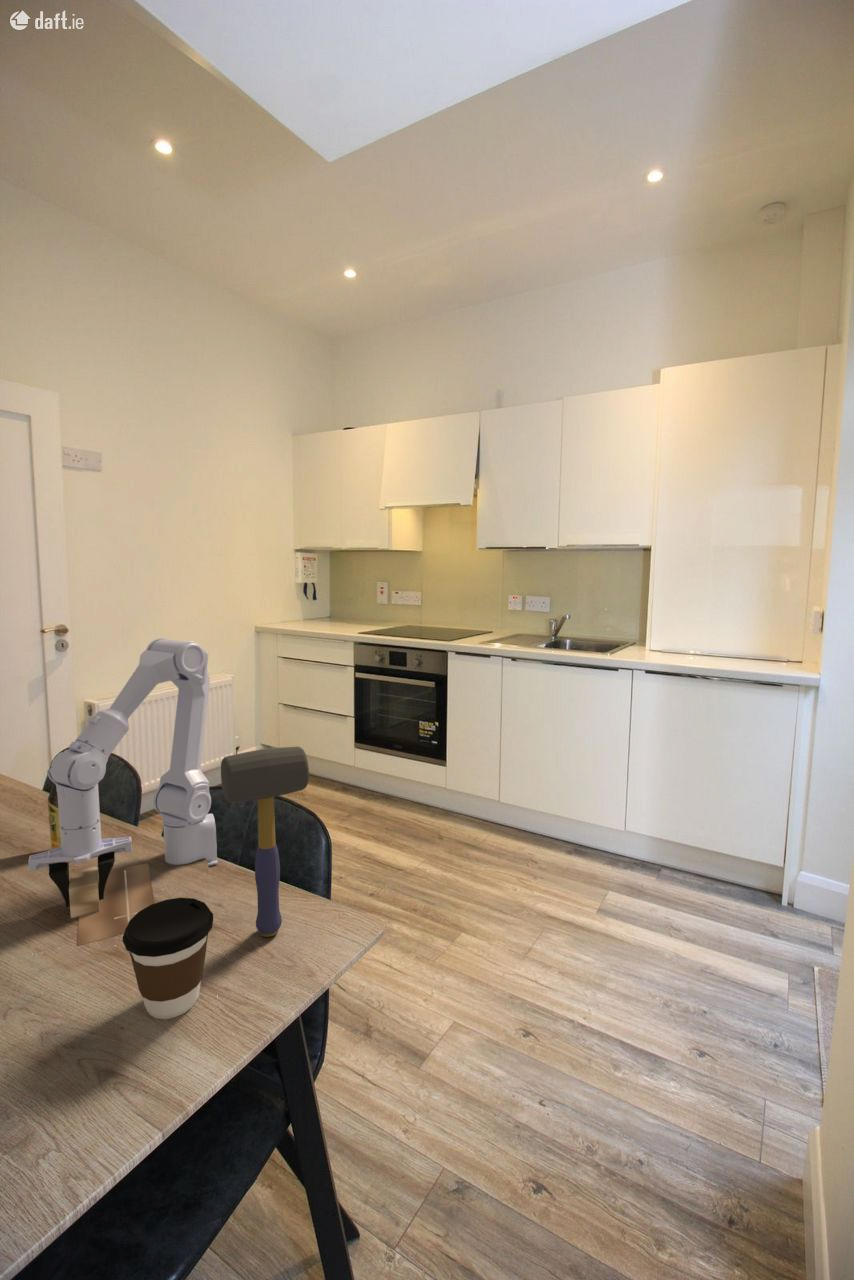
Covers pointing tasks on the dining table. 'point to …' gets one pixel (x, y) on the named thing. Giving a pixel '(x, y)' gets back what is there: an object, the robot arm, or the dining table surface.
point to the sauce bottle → (54, 817)
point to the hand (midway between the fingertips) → (85, 900)
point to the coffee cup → (169, 953)
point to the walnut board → (117, 904)
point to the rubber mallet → (265, 814)
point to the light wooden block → (84, 892)
